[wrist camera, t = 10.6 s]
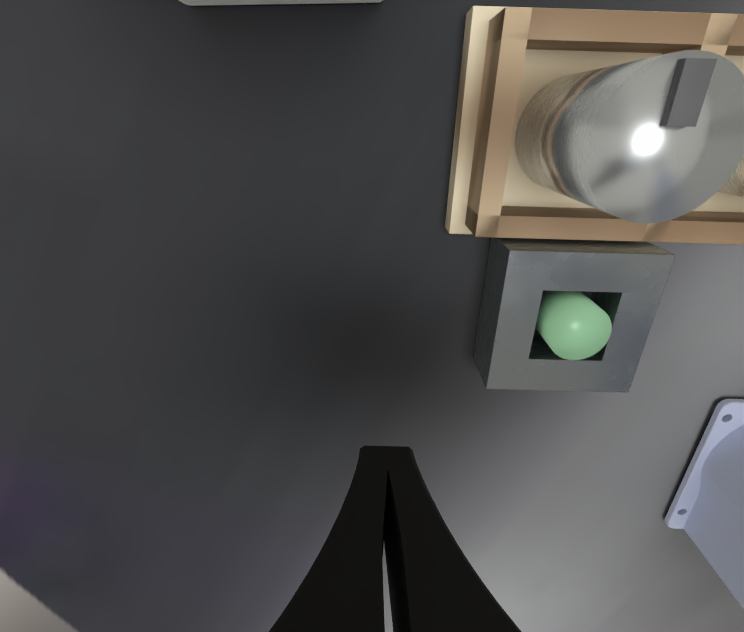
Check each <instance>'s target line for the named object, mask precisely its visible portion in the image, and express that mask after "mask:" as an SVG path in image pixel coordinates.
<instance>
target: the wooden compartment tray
mask: <svg viewBox="0 0 744 632" xmlns="http://www.w3.org/2000/svg"><path fill="white" fill-rule="evenodd" d="M684 50H702V51H709V52H712V53H716V54H719V55H721V56H723V57H725V58H727V59H728V60H729V61H731V62H732V63H733V64H735V65H736V66H737V67H738V69H739V70H740V71H741V72H742V73H743V75H744V14H721V13H689V12H657V11H625V10H593V9H560V8H528V7H496V6H473V7H472V8H471V9H470V10H469V11H468V12H467V13H466V23H465V33H464V42H463V52H462V62H461V72H460V82H459V92H458V102H457V112H456V122H455V132H454V142H453V152H452V162H451V172H450V182H449V192H448V202H447V212H446V221H445V228H446V229H447V231H448V232H449V234H473V235H474V236H475V237H498V238H534V239H570V240H607V241H643V242H679V243H716V244H744V198H743V197H739V196H734V195H729V194H725V193H720V192H716V193H715V194H714V195H713V196H712V197H711V198H710V199H708V200H707V201H706V202H705V203H703V204H702V205H700V206H699V207H697V208H696V209H694V210H692V211H690V212H688V213H686V214H685V215H682V216H680V217H677V218H675V219H671V220H668V221H664V222H658V223H647V224H643V223H634V222H630V221H626V220H623V219H621V218H618V217H616V216H613V215H611V214H608V213H606V212H604V211H601V210H599V209H596V208H594V207H591V206H589V205H587V204H584V203H582V202H579V201H577V200H574V199H572V198H570V197H567V196H565V195H562V194H560V193H557V192H555V191H553V190H550V189H548V188H545V187H543V186H540V185H538V184H537V183H535V182H533V181H532V180H531V179H530V178H528V176H527V175H526V174H525V173H524V172H523V170H522V168H521V167H520V164H519V162H518V159H517V156H516V151H515V134H516V129H517V125H518V122H519V119H520V117H521V114H522V112H523V110H524V109H525V107H526V105H527V104H528V103H529V101H530V100H531V99H532V97H533V96H534V95H535V94H536V93H537V92H538V91H539V90H541V89H542V88H543V87H544V86H546V85H547V84H549V83H550V82H552V81H554V80H556V79H558V78H561V77H564V76H567V75H572V74H576V73H581V72H586V71H590V70H595V69H599V68H604V67H609V66H613V65H618V64H623V63H627V62H632V61H636V60H641V59H646V58H650V57H655V56H660V55H664V54H669V53H674V52H679V51H684Z"/></svg>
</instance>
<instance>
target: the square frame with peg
mask: <svg viewBox="0 0 744 632" xmlns="http://www.w3.org/2000/svg"><path fill="white" fill-rule="evenodd" d="M674 258H675V255H674V254H672V253H670V252H668V251H665V250H663V249H661V248H659V247H657V246H655V245H652V244H650V243H648V242H643V241H607V240H570V239H534V238H498V237H491V241H490V247H489V254H488V261H487V267H486V274H485V281H484V288H483V294H482V301H481V308H480V315H479V321H478V328H477V335H476V341H475V348H474V355H473V358H474V360H475V362H476V365H477V367H478V370H479V372H480V375H481V377H482V379H483V382H484V384H485V387H486V389H512V390H552V391H591V392H629V389H630V386H631V383H632V380H633V377H634V374H635V371H636V368H637V365H638V363H639V360H640V357H641V354H642V351H643V348H644V345H645V342H646V339H647V336H648V333H649V331H650V328H651V325H652V322H653V319H654V316H655V313H656V310H657V307H658V304H659V302H660V299H661V296H662V293H663V290H664V287H665V284H666V281H667V278H668V275H669V272H670V270H671V267H672V264H673V261H674ZM543 290H546V291H584V294H585V295H586V296H587V297H588V298H589V299H590V300H592V301H593V302H594V303H595V304H596V305H598V306H599V307H600V308H601V309H602V310H603V311H605V312H606V313H607V315H608V316H609V318H610V320H611V324H612V331H611V335H610V338H609V340H608V341H607V343H606V344H605V346H604V347H603V348H602V349H601V350H600V351H598V352H597V353H596V354H594V355H592V356H590V357H588V358H585V359H581V360H567V359H564V358H561V357H559V356H558V355H556V354H555V353H554V352H553V351H552V349H551V348H550V347H549V345H548V344H547V343H546V341H545V340H544V339H543V337H542V336H541V335H540V334H539V332H538V331H537V330H535V326H536V321H537V317H538V312H539V307H540V303H541V298H542V293H543Z"/></svg>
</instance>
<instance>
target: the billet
mask: <svg viewBox="0 0 744 632" xmlns="http://www.w3.org/2000/svg"><path fill="white" fill-rule="evenodd" d="M515 151H516V156H517V159H518V162H519V164H520V167H521V168H522V170H523V172H524V173H525V174H526V175H527V176H528V178H530V179H531V180H532V181H533V182H535V183H537V184H538V185H540V186H543V187H545V188H548V189H550V190H553V191H555V192H557V193H560V194H562V195H565V196H567V197H570V198H572V199H574V200H577V201H579V202H582V203H584V204H587V205H589V206H591V207H594V208H596V209H599V210H601V211H604V212H606V213H608V214H611V215H613V216H616V217H618V218H621V219H623V220H626V221H630V222H634V223H643V224H647V223H658V222H664V221H668V220H671V219H675V218H677V217H680V216H682V215H685V214H686V213H688V212H690V211H692V210H694V209H696V208H697V207H699V206H700V205H702V204H703V203H705V202H706V201H707V200H708V199H710V198H711V197H712V196H713V195H714V194H715V193H716V192H717V191H718V190H719V189H720V188H721V187H722V186H723V185H724V184H725V183H726V182H727V180H728V179H729V178H730V177H731V175H732V174H733V172H734V171H735V170H736V168H737V167H738V165H739V163H740V161H741V159H742V158H743V156H744V75H743V73H742V72H741V71H740V70H739V69H738V67H737V66H736V65H735V64H733V63H732V62H731V61H729V60H728V59H727V58H725V57H723V56H721V55H719V54H716V53H712V52H709V51H702V50H684V51H679V52H674V53H669V54H664V55H660V56H655V57H650V58H646V59H641V60H636V61H632V62H627V63H623V64H618V65H613V66H609V67H604V68H599V69H595V70H590V71H586V72H581V73H576V74H572V75H567V76H564V77H561V78H558V79H556V80H554V81H552V82H550V83H549V84H547V85H546V86H544V87H543V88H542V89H541V90H539V91H538V92H537V93H536V94H535V95H534V96H533V97H532V99H531V100H530V101H529V103H528V104H527V105H526V107H525V109H524V110H523V112H522V114H521V117H520V119H519V122H518V125H517V129H516V134H515Z"/></svg>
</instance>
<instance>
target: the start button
mask: <svg viewBox="0 0 744 632" xmlns="http://www.w3.org/2000/svg"><path fill="white" fill-rule="evenodd" d="M535 328H536V330H537V331H538V332H539V334H540V335H541V336H542V337H543V339H544V340H545V341H546V343H547V344H548V345H549V347H550V348H551V349H552V351H553V352H554V353H555V354H556V355H558V356H559V357H561V358H564V359H567V360H581V359H585V358H588V357H590V356H592V355H594V354H596V353H597V352H598V351H600V350H601V349H602V348H603V347H604V346H605V344H606V343H607V341H608V340H609V338H610V335H611V331H612V324H611V320H610V318H609V316H608V315H607V313H606V312H605V311H603V310H602V309H601V308H600V307H599V306H598V305H596V304H595V303H594V302H593V301H592V300H590V299H589V298H588V297H587V296H586V295H585V294H583V293H582V292H581V291H546V290H543V293H542V298H541V303H540V307H539V312H538V317H537V321H536V326H535Z"/></svg>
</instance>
